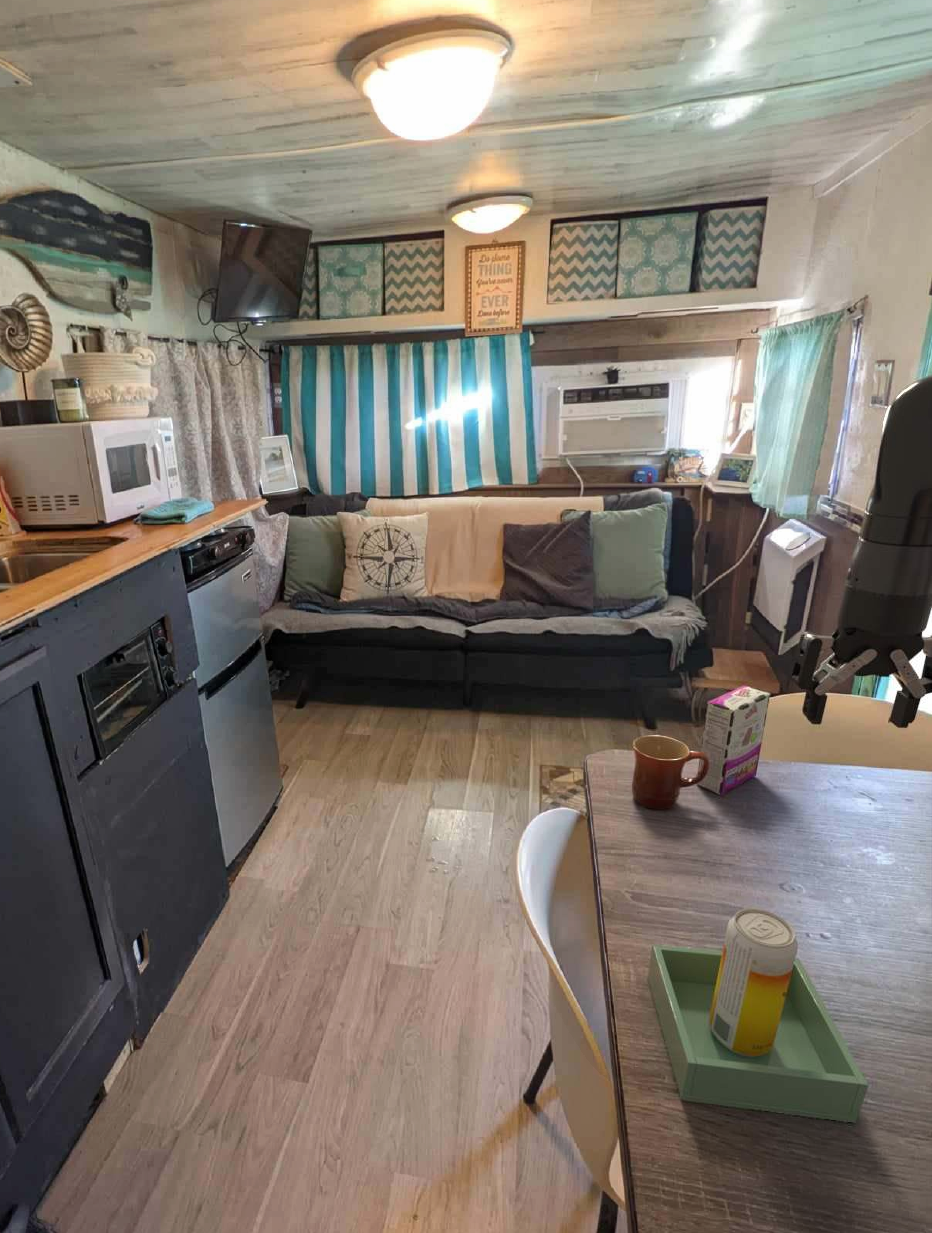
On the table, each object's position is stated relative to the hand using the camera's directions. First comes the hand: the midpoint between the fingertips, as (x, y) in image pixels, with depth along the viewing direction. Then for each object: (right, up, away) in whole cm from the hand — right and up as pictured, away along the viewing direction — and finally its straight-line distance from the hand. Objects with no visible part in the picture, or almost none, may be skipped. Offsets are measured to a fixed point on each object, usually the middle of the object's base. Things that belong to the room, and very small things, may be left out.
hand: (855, 723), depth 77 cm
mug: (-3, -17, +40) cm, 44 cm away
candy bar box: (+10, -14, +45) cm, 49 cm away
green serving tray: (-15, -34, -3) cm, 37 cm away
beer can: (-15, -34, -3) cm, 37 cm away
